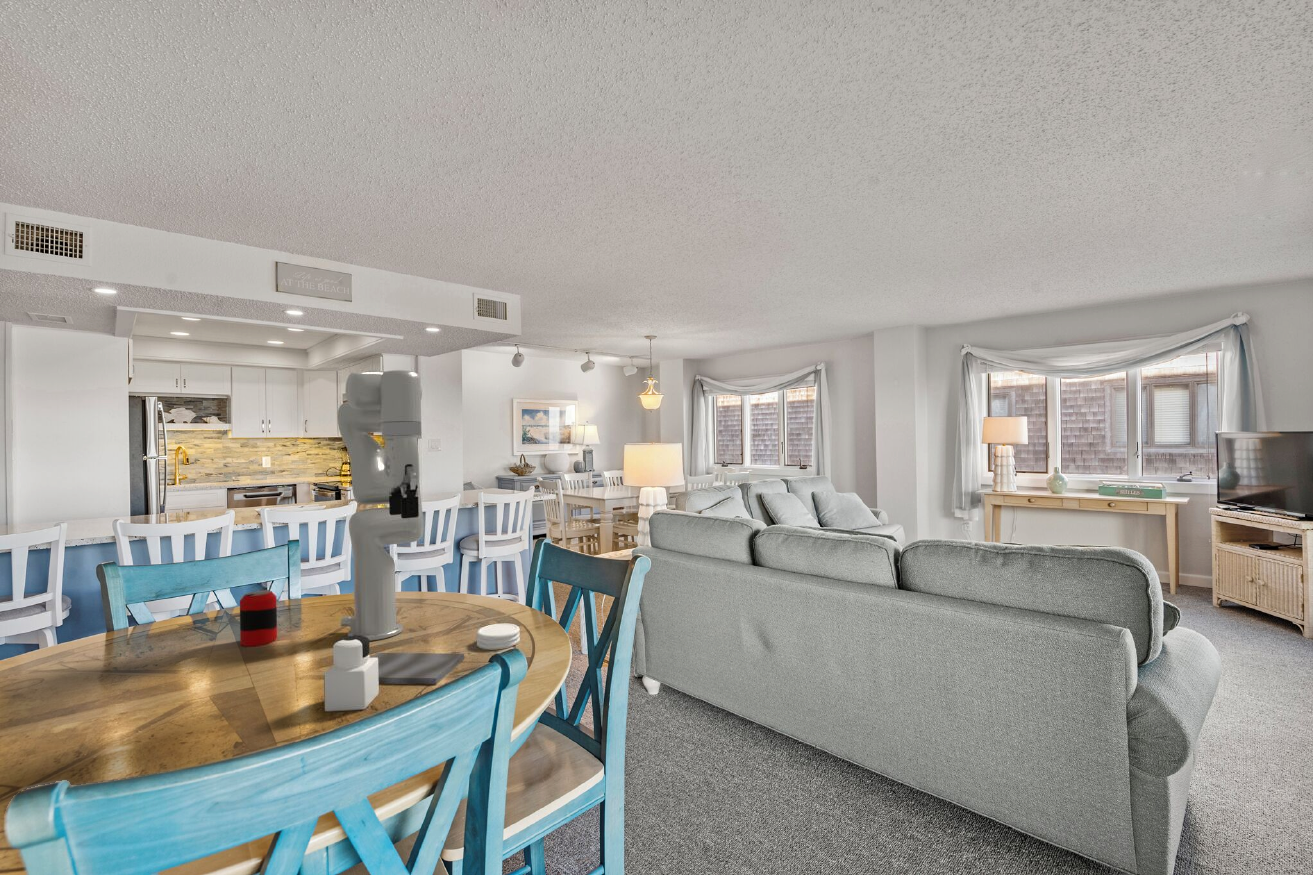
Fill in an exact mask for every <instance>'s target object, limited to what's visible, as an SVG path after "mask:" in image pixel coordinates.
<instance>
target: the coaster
mask: <svg viewBox="0 0 1313 875" xmlns="http://www.w3.org/2000/svg"><path fill="white" fill-rule="evenodd" d="M520 631H521V630H520V626H518V625H517V624H514V623H505V622H504V623H495V624H494V623H493V624H490V625H489V624H488V625H485V626H483V627H480V628H479V629H478V630H477V631H476V646H477V647H478V648H480V649H483V650H486V651H487V650H488V651H489V650H490V651H495V650H496V651H499V650H504V649H509V648H512V647H514V646H513V645H515V646H516V645H519V644H518V643H520V640H521V637H520V635H521V633H520Z"/></svg>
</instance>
